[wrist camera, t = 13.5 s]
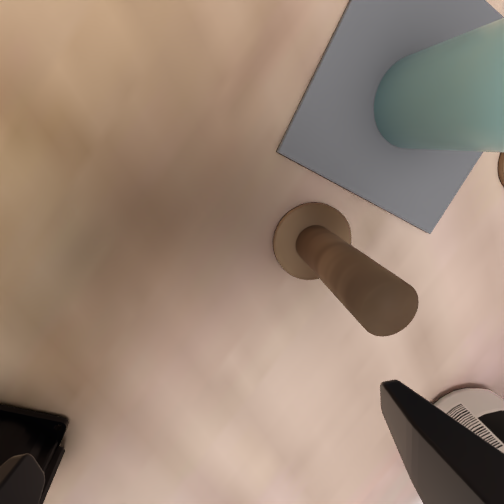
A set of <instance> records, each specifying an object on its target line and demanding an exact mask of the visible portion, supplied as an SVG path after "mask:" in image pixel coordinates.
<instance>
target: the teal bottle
mask: <svg viewBox="0 0 504 504" xmlns="http://www.w3.org/2000/svg"><path fill="white" fill-rule="evenodd" d="M374 117H375V122H376V125H377V128H378V130H379V132H380V133H381V135H382V136H383V137H384V139H385V140H386V141H388V142H389V143H390V144H392V145H394V146H396V147H399V148H406V149H431V150H456V151H481V152H504V18H502V19H499V20H497V21H494V22H492V23H489V24H487V25H484V26H482V27H479V28H477V29H474V30H472V31H469V32H467V33H464V34H461V35H459V36H456V37H454V38H451V39H449V40H446V41H444V42H441V43H439V44H436V45H434V46H431V47H429V48H426V49H424V50H421V51H419V52H416V53H414V54H411V55H408V56H406V57H404V58H402V59H400V60H399V61H397V62H396V63H395V64H394V65H393V66H391V68H390V69H389V70H388V71H387V72H386V74H385V75H384V76H383V78H382V80H381V82H380V84H379V86H378V89H377V92H376V95H375V100H374Z"/></svg>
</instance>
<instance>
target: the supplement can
mask: <svg viewBox="0 0 504 504" xmlns="http://www.w3.org/2000/svg"><path fill="white" fill-rule="evenodd" d="M433 405H435V406H436V407H438V408H439V409H441V410H442V411H443V412H445V413H446V414H448V415H449V416H451V417H452V418H454V419H455V420H456V421H458V422H459V423H461V424H462V425H464V426H465V427H467V428H468V429H469V430H471V431H472V432H474V433H475V434H477V435H478V436H480V437H481V438H482V439H484V440H485V441H487V442H488V443H490V444H491V445H493V446H494V447H495V448H497V449H498V450H500V451H501V452H503V453H504V399H502V398H501V397H500V396H499V395H497V394H496V393H494V392H492V391H491V390H489V389H479V388H464V389H460V390H455V391H453V392H451V393H449V394H447V395H445V396H443V397H442V398H440V399H439V400H438V401H437V402H436V403H434V404H433Z"/></svg>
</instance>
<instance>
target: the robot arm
mask: <svg viewBox="0 0 504 504" xmlns="http://www.w3.org/2000/svg"><path fill="white" fill-rule="evenodd" d="M380 396H381V409H382V413H383V416H384V418H385V420H386V423H387V425H388V427H389V430H390V432H391V434H392V437H393V439H394V442H395V444H396V446H397V449H398V451H399V453H400V456H401V458H402V460H403V463H404V465H405V467H406V470H407V472H408V474H409V477H410V479H411V481H412V483H413V485H414V487H415V489H416V491H417V493H418V494H419V496H420V498H421V500H422V502H423V504H504V453H503V452H501V451H500V450H498V449H497V448H495V447H494V446H493V445H491V444H490V443H488V442H487V441H485V440H484V439H482V438H481V437H480V436H478V435H477V434H475V433H474V432H472V431H471V430H469V429H468V428H467V427H465V426H464V425H462V424H461V423H459V422H458V421H456V420H455V419H454V418H452V417H451V416H449V415H448V414H446V413H445V412H443V411H442V410H441V409H439V408H438V407H436V406H435V405H433V404H432V403H430V402H429V401H428V400H426V399H425V398H423V397H422V396H420V395H419V394H417V393H416V392H415V391H413V390H412V389H410V388H409V387H407V386H406V385H404V384H403V383H401V382H400V381H398V380H390V381H385V382H382V383H381V385H380ZM68 423H69V422H68V420H67V419H66V418H63V417H59V416H54V415H49V414H45V413H40V412H35V411H30V410H25V409H21V408H16V407H11V406H6V405H2V404H0V504H43V502H44V500H45V497H46V495H47V492H48V490H49V488H50V485H51V483H52V480H53V478H54V476H55V473H56V471H57V469H58V466H59V464H60V461H61V459H62V457H63V454H64V452H65V449H64V447H62V446H60V443H61V441H62V438H63V436H64V434H65V431H66V429H67V426H68ZM59 425H61V426H59Z"/></svg>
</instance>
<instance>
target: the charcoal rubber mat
mask: <svg viewBox="0 0 504 504" xmlns="http://www.w3.org/2000/svg"><path fill="white" fill-rule="evenodd" d="M502 18H504V17H503V16H502V15H501V14H500V13H499V12H497V11H496V10H495V9H494V8H493V7H492V6H491V5H490V4H488V3H487V2H486V1H485V0H350V1H349V3H348V5H347V7H346V9H345V11H344V13H343V15H342V17H341V20H340V22H339V24H338V26H337V28H336V30H335V32H334V34H333V36H332V38H331V40H330V42H329V44H328V46H327V48H326V50H325V52H324V55H323V57H322V59H321V61H320V63H319V65H318V67H317V69H316V71H315V73H314V75H313V77H312V79H311V81H310V83H309V85H308V87H307V90H306V92H305V94H304V96H303V98H302V100H301V102H300V104H299V106H298V108H297V110H296V112H295V114H294V116H293V118H292V120H291V122H290V125H289V127H288V129H287V131H286V133H285V135H284V137H283V139H282V141H281V143H280V145H279V147H278V149H277V151H276V152H278V153H280V154H281V155H283V156H285V157H287V158H289V159H291V160H293V161H295V162H296V163H298V164H300V165H302V166H304V167H306V168H308V169H309V170H311V171H313V172H315V173H317V174H319V175H321V176H322V177H324V178H326V179H328V180H330V181H332V182H334V183H335V184H337V185H339V186H341V187H343V188H345V189H347V190H349V191H350V192H352V193H354V194H356V195H358V196H360V197H362V198H363V199H365V200H367V201H369V202H371V203H373V204H375V205H376V206H378V207H380V208H382V209H384V210H386V211H388V212H390V213H391V214H393V215H395V216H397V217H399V218H401V219H403V220H404V221H406V222H408V223H410V224H412V225H414V226H416V227H417V228H419V229H421V230H423V231H425V232H427V233H429V234H431V232H432V231H433V229H434V227H435V226H436V224H437V223H438V221H439V220H440V218H441V217H442V215H443V213H444V212H445V210H446V209H447V207H448V206H449V204H450V203H451V201H452V199H453V198H454V196H455V195H456V193H457V192H458V190H459V189H460V187H461V185H462V184H463V182H464V181H465V179H466V178H467V176H468V175H469V173H470V171H471V170H472V168H473V167H474V165H475V164H476V162H477V161H478V159H479V158H480V156H481V154H482V153H483V152H481V151H456V150H431V149H406V148H399V147H396V146H394V145H392V144H390V143H389V142H388V141H386V140H385V139H384V137H383V136H382V135H381V133H380V132H379V130H378V128H377V125H376V122H375V117H374V100H375V95H376V92H377V89H378V86H379V84H380V82H381V80H382V78H383V76H384V75H385V74H386V72H387V71H388V70H389V69H390V68H391V66H393V65H394V64H395V63H396V62H397V61H399V60H400V59H402V58H404V57H406V56H408V55H411V54H414V53H416V52H419V51H421V50H424V49H426V48H429V47H431V46H434V45H436V44H439V43H441V42H444V41H446V40H449V39H451V38H454V37H456V36H459V35H461V34H464V33H467V32H469V31H472V30H474V29H477V28H479V27H482V26H484V25H487V24H489V23H492V22H494V21H497V20H499V19H502Z"/></svg>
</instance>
